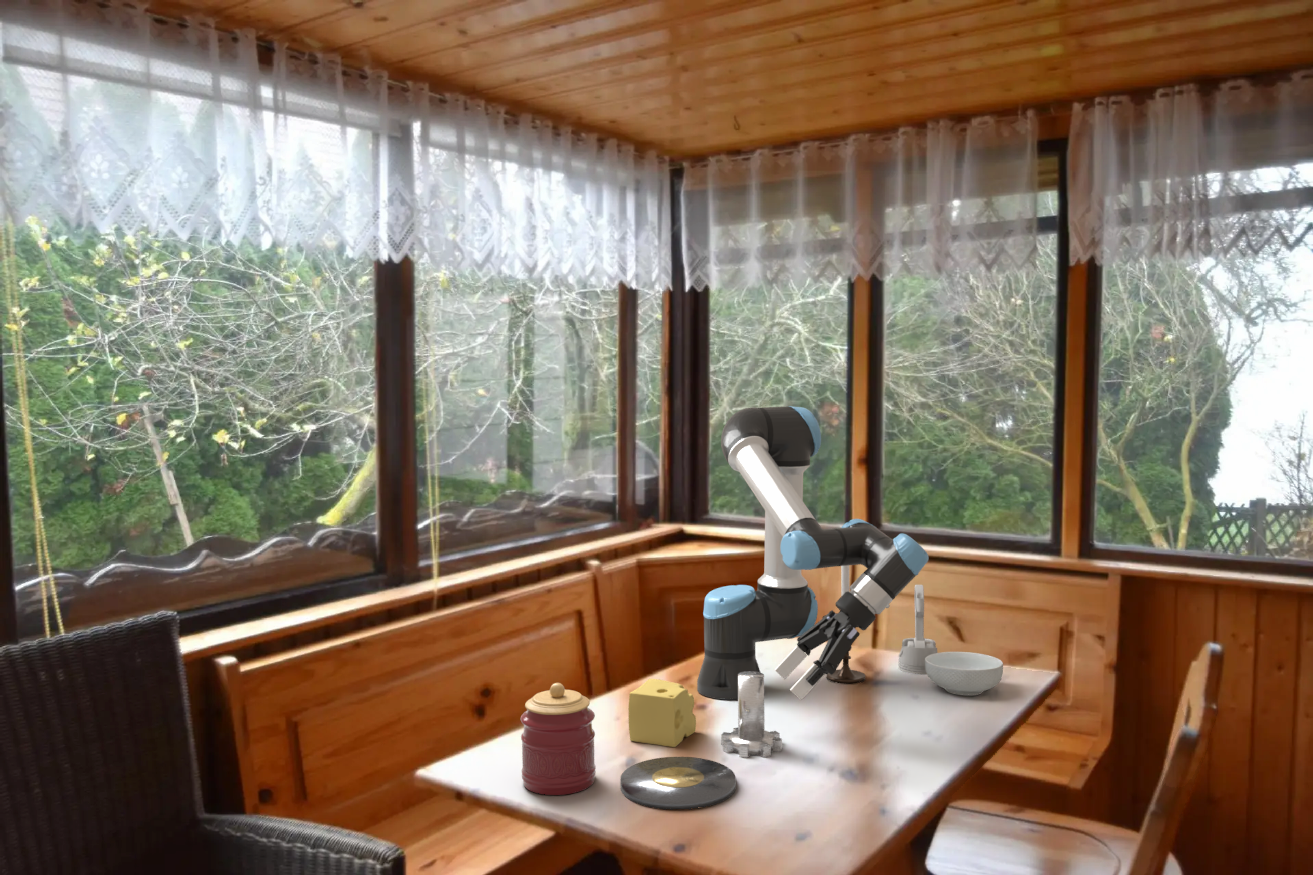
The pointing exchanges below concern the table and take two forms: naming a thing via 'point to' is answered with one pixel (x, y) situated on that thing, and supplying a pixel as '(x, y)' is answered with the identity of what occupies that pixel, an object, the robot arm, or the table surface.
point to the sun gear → (751, 721)
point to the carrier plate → (678, 783)
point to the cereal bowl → (964, 671)
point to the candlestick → (845, 672)
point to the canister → (558, 742)
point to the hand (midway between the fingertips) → (787, 684)
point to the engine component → (916, 641)
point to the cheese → (661, 713)
